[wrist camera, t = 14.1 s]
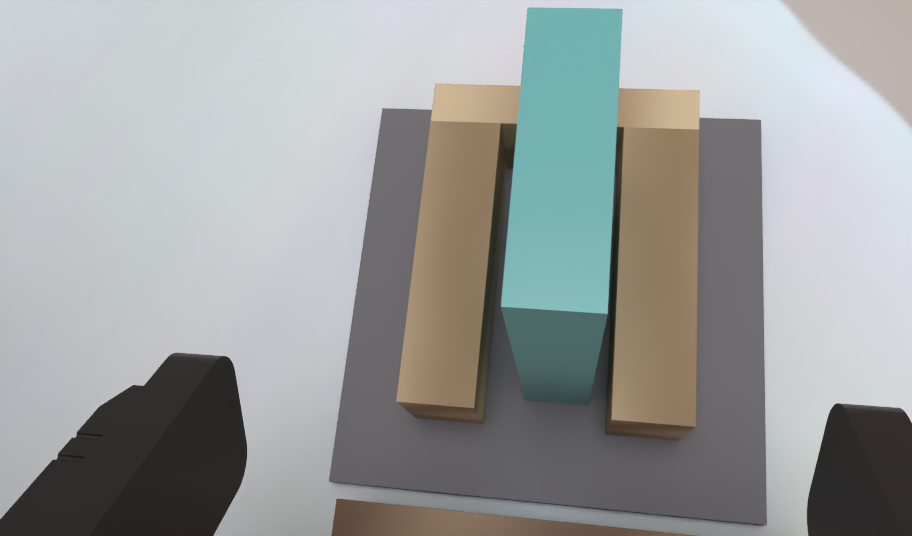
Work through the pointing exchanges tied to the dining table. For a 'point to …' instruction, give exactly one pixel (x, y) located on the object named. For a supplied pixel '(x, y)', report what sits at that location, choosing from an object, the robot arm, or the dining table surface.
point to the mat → (583, 426)
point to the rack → (634, 259)
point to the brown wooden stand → (455, 523)
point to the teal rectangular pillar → (562, 201)
